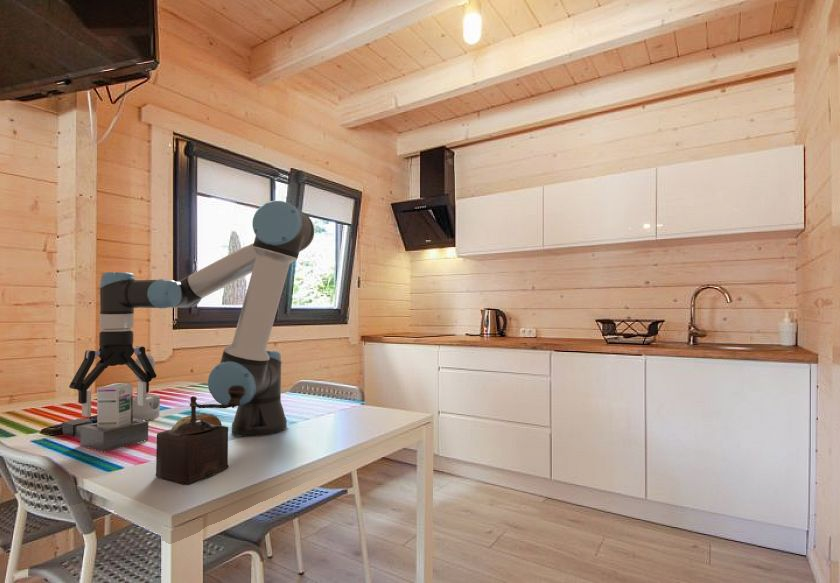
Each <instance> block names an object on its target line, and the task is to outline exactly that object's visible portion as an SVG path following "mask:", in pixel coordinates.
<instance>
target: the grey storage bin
mask: <svg viewBox="0 0 840 583" xmlns="http://www.w3.org/2000/svg"><path fill="white" fill-rule="evenodd" d="M62 431H63V434H62V435H67V436H70V437H77V438H79V439H80V444H79V445H81V446H80V447H84V446H85V447H84V448H87V447H89V448H88V449H91V448H93V449H92V450H94V449H96V450H95V451H97V450H99V452H101V451H102V453H105V452H104V451H106V452H109V451H114V450H117V449H121V448H124V447H127V446H126V445H128V446H131V445H130V444H132V445H134V444H133V443H136V444H138V443H137V442H140V443H142V442H141V441H143V442H145V441H144V440H147V441H149V420H147V421H143V420H139V419H134V418H133V424H129V425H125V426H120V427H116V428H111V429H103V428H98V427H97V422H94V423H93V420H91V419H86V418H77V419H72V420H67V421H63V422H62ZM62 431H61V432H62ZM123 446H124V447H123ZM120 447H121V448H120ZM108 450H109V451H108Z"/></svg>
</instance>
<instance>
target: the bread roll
mask: <svg viewBox="0 0 840 583" xmlns="http://www.w3.org/2000/svg"><path fill="white" fill-rule="evenodd" d="M190 419H191V415H188V416H185V417H182V418H180V419H179V420H178V421H177V422H176V423H174V425H173V426H172V427H171V429H174V428H178V427H179V426H180V425H182V424H183V423H185V422H188V421H190ZM196 419H197V420H203V421H205V422H207V423H209V424H213V425H220V426H223V424H222V421H221V420H220V419H219V418H218V416H217V415H214V414H208V413H196Z"/></svg>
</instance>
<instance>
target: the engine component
mask: <svg viewBox="0 0 840 583" xmlns="http://www.w3.org/2000/svg"><path fill="white" fill-rule="evenodd" d="M146 356H147V358H148V360H149V361H150V363H151V365H152V367H153V369H154V370H155V364H156V362H155V358H154V356H152V355H151V354H149V353H146ZM134 361H135V363H136V364H137V365H138V366H139V367H140V368H141V369H142V365H141V363H140V361H139V359H138V357H137V356H136V359H134ZM132 373H133V374H134V376H135V377H136V378H137V383H138V382H139V381H142V380H141V379H140V378H139V377H138V376H137V375H136V374H135V373H134V372H133V371H132ZM136 387H137V389H136V390H137V391H136V395H135V397H133V418H134V419H139V420H147V421H150V420H149V419H152V420H155V419H158V418H159V417H160V411H161V410H160V409H161V408H160V407H161V406H160V405H161V404H160V403H161V402H160V401H161V400H160V399H161V396H160V395H158V394H149V392H148V393H146V406H141V405H138V385H137V386H136ZM157 417H158V418H157ZM154 418H155V419H154Z"/></svg>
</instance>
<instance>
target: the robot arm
mask: <svg viewBox="0 0 840 583" xmlns="http://www.w3.org/2000/svg"><path fill="white" fill-rule="evenodd" d="M251 223H252V230H253V233H254V234H255V238H254V240H253V242H251V243H249V244H246V245H245V246H242V247H241V248H239V249H237V250H235V251H233V252H231V253H230V254H228V255H226V256H224V257H222V258H220V259H218V260H216V261H214V262H213V263H211V264H208V265H207V266H205V267H203V268H201V269H199V270H197V271H195V272H193V273H191V274H189V276H185V277H183V279H181V280H178V281H175V280H173V279H163V278H160V279H159V278H158V279H135V275H134V273H132V272H126V271H125V272H122V271H121V272H120V271H119V272H117V271H108V272H107V271H106V272H104V273H102V275H101V277H100V284H99V285H100V287H99V296H100V297H99V299H100V302H99V303H100V311H99V329H100V330H101V331H100V332H99V333H98V334H99V338H98V340H99V342H98V343H99V344H98V345H99V349H98V350H91V349H90V350H89V349H86V350H85V352H84V357H83V360H82V362H81V364H80V366H79V367H78V370H77V371H76V373H75V374H74V376H73V378H72V380H71V382H70V383H69V389H70V390H71V389H73V390H77V392H78V394H77V396H78V399H77V400H78V401H77V402H78V404H81V416H82V417H87V418H88V417H90V418H91V417H92V389H89V388H90V387H91V386H92V384H94V382H95V381H96V380H97V379H98V378H99V376H100V375H101V374H102V373H103V372H104V371H105V370H106V369H107V368H108V367H115V366H124V365H126V366H127V367H128V368H129V369H130V370H131V371H132V373H133V372H134V373H135V374H136V375H137V376H138V377H139V378H140V379H141V380H142V381H139V382H138V381H137V386H138V405H141V406H146V393H148V394H149V391H150V382H151V381H152V380H153V379H155V378H157V373H156V371H155V368H154V369H153V367H152V365H151V363H150V361H149V360H148V358H147V356H146V354H147V353H146V352H147V351H146V347H145V346H141V345H140V346H139V345H138V346H136V347H134V346H133V345H134V331H133V330H132V329H134V327H135V326H134V325H135V324H134V317H135V314H134V312H135V309H138V308H139V309H140V308H141V309H143V308H145V309H170V308H174V309H175V308H178V309H180V308H181V309H189V308H192V307H195V306H197V305H198V304H200V302H201V301H202V299H203V298H206V297H207V296H209V295H211V294H213V293H215V292H217V291H219V290H221V289H222V288H225V287H226V286H229V285H230V284H233V283H234V282H236V281H239V280H240V279H242V278H244V277H246V276H248V275H249V274H251V276H250V278H249V282H248V286H247V290H246V293H245V296H244V299H243V304H242V308H241V311H240V313H239V318H238V321H237V324H236V329H235V332H234V336H233V339H232V342H231V344H228V346H225V347H224V348H223V352H222V356H221V359H220V362H219V363H218V364H216V365H215V366H214V368H212V370H211V371H210V373H209V375H208V379H207V388H208V391H209V393H210V394H211V397H212V398H213V399H214V401H216V402H217V403H218V404H220V405H227V404H228V402H229V401H230V395H229V393H228V389H229V388H230V387H231V386H233V385H239V386H243V387H244V388H245V389H246V394H245V395H244V396H243V397H242V399H241V400H240V402H241V405H240V406H237V409H236V411H235V415H234V418H233V421H232V423H231V433H232V434H233V435H234V436H238V437H262V436H269V435H274V434H278V433H280V432H283V431H285V430H286V429H287V427H288V424H287V421H288V420H287V417H286V416H285V411H284V407H283V405H282V400H281V398H282V397H281V396H282V394H281V393H282V392H281V390H282V389H281V388H282V363H283V362H282V359H281V358H282V356H281V353H280V352H279V351H277V350H267V347H268V344H269V341H270V336H271V332H272V330H273V326H274V322H275V318H276V315H277V312H278V308H279V304H280V301H281V300H280V299H281V297H282V294H283V290H284V285H285V283H286V278H287V275H288V272H289V268H290V265H291V264H292V263H293V262H296V261H297V260H298V259H299V254H300V252H302V251H304V250H305V249H307V248H308V247H309V246H310V245H311V243H312V242H313V239H314V237H315V226H314V223H313V221H312V219H311V218H310V216H308V215H307V214H306V213H304V212H303V211H301V210H299V208H298V207H296V206H295V205H294V204H292V203H289V202H287V201H284V200H271V201H268V202H266V203H264V204H262V205H260V207H258V209H257V210H256V211H255V213H254V216H253V219H252V222H251ZM134 354H135V355H136V358H137V357H138V359H139V361H140V363H141V365H142V366H141V368H140V367H139V366H138V365H137V364H136V363H135V359H134V358H133V357H132V356H133V355H134ZM98 357H99V360H98V361H97V363H96V364H95V367H93V369H91V367H92V365H93V364H94V361H95V360H96V359H97V358H98ZM90 369H91V371H90ZM89 371H90V372H89ZM88 373H89V374H88ZM135 374H134V375H135ZM136 375H135V376H136Z"/></svg>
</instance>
